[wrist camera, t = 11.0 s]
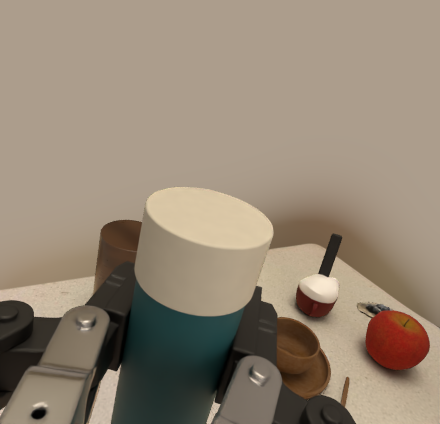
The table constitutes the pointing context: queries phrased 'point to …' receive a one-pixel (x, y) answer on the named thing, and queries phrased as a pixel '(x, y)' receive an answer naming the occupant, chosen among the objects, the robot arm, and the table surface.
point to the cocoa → (320, 285)
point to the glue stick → (187, 302)
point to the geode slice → (372, 308)
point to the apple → (396, 340)
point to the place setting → (302, 360)
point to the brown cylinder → (116, 247)
